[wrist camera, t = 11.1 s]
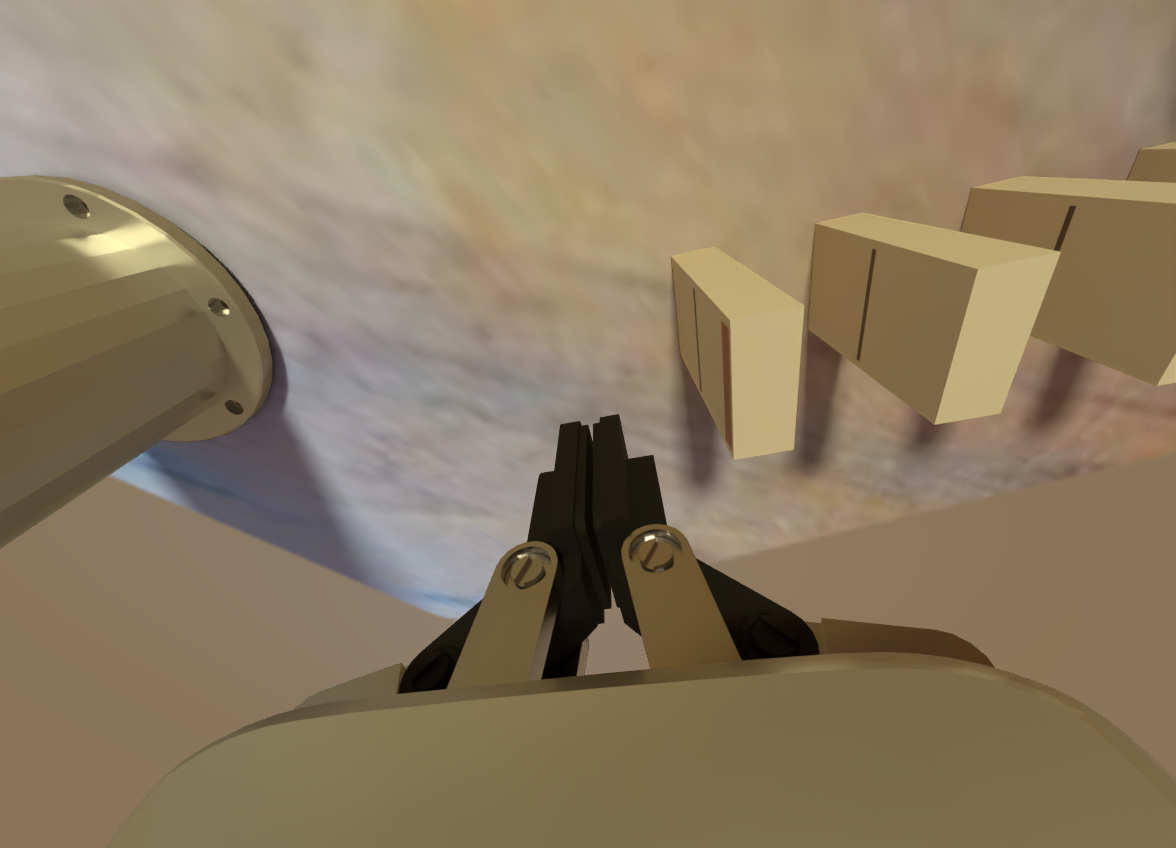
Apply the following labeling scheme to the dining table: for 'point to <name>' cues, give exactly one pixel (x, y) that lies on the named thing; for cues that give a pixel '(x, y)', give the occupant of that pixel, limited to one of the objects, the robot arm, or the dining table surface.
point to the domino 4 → (1155, 164)
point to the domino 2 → (927, 309)
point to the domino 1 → (740, 349)
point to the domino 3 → (1095, 264)
